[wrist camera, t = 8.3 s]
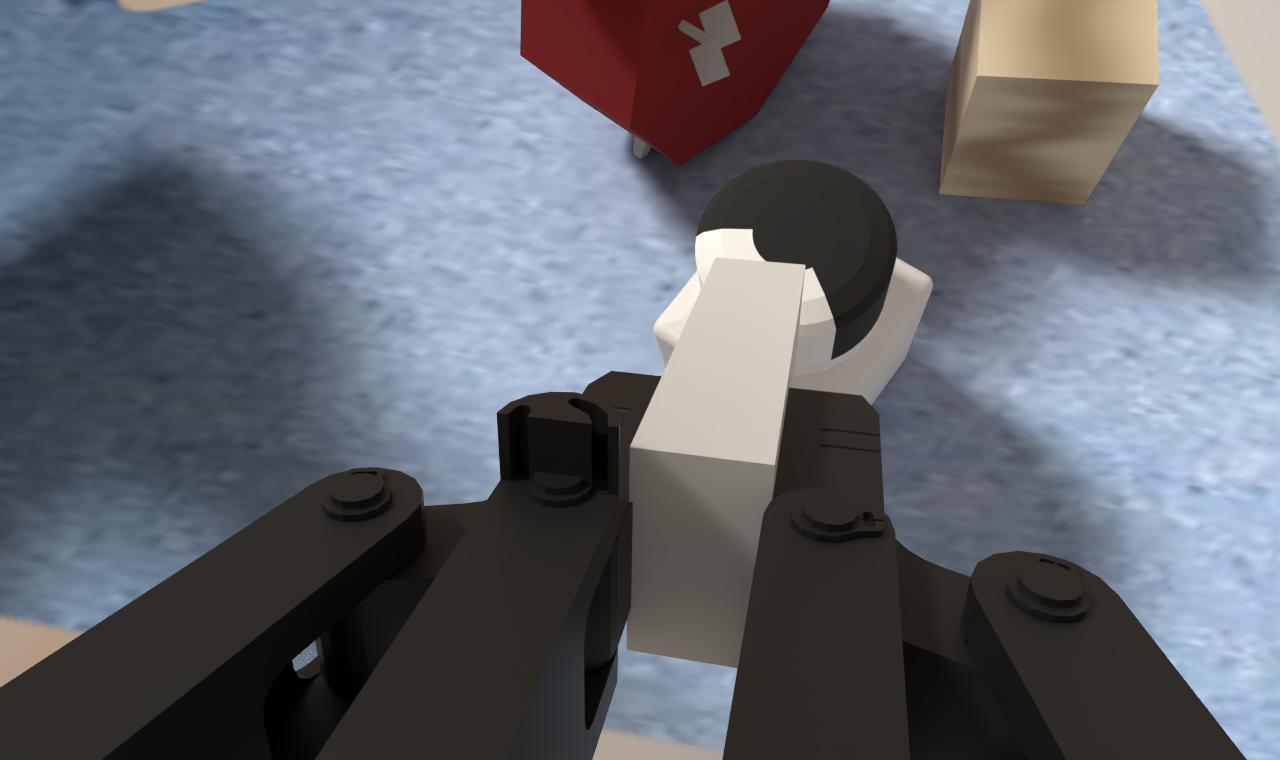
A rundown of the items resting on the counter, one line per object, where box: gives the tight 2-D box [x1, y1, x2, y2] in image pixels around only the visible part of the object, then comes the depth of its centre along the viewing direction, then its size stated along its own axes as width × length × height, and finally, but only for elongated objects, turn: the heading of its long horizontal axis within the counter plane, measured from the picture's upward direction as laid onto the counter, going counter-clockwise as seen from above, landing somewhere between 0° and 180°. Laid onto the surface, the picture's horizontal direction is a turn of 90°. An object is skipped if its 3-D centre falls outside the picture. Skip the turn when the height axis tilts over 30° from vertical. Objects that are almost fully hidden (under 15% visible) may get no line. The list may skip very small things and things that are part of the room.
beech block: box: [939, 0, 1159, 205], centre depth 36 cm, size 6×6×8 cm
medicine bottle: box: [654, 160, 933, 406], centre depth 32 cm, size 7×7×12 cm
